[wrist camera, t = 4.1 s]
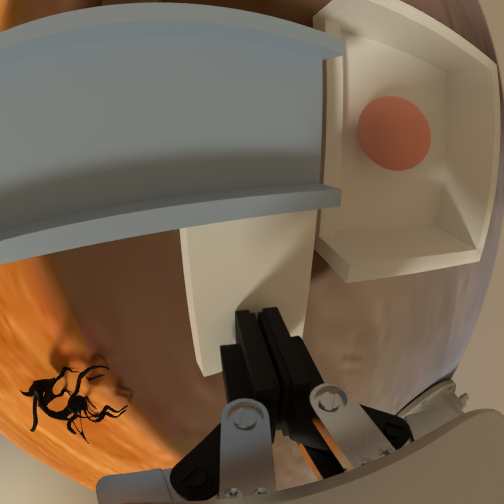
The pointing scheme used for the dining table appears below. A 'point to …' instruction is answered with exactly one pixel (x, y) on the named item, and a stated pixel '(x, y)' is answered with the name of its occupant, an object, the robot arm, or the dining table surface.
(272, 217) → the lever
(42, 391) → the creature
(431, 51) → the tray
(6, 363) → the dining table surface
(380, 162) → the ball
